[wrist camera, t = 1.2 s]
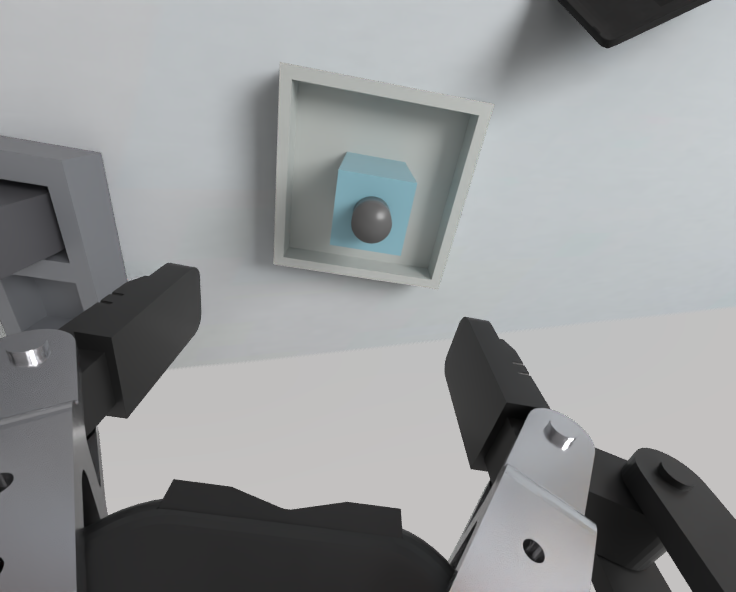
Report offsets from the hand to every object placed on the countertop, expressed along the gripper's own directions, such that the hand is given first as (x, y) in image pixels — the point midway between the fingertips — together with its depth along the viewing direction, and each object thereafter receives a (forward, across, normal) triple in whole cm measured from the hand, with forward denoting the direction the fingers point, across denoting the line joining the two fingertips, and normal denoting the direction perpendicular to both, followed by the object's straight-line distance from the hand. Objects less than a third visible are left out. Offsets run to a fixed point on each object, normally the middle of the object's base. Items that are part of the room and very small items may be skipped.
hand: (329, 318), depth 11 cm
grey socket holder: (+17, +22, +8) cm, 29 cm away
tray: (+17, -1, -1) cm, 17 cm away
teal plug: (+16, -1, -1) cm, 16 cm away
